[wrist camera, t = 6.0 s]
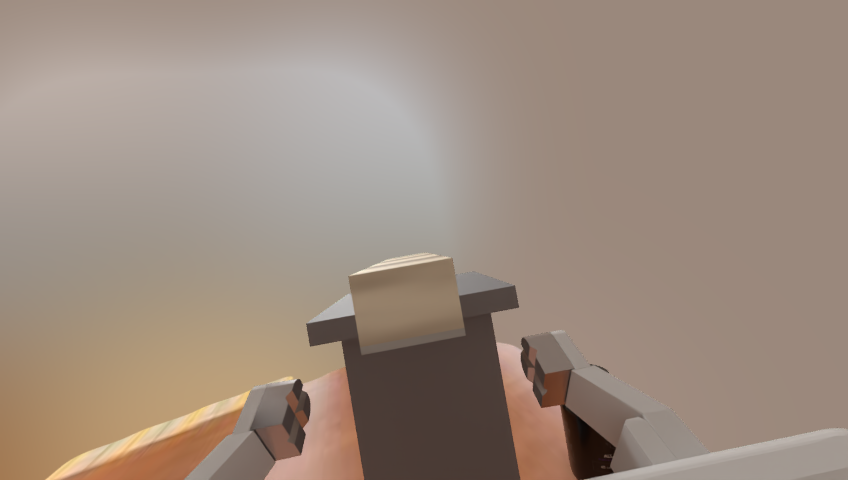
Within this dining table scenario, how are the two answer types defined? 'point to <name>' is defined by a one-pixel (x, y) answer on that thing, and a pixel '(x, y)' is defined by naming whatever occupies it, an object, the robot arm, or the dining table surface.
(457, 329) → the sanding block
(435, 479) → the tool stand
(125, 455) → the dining table surface
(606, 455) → the supplement bottle
